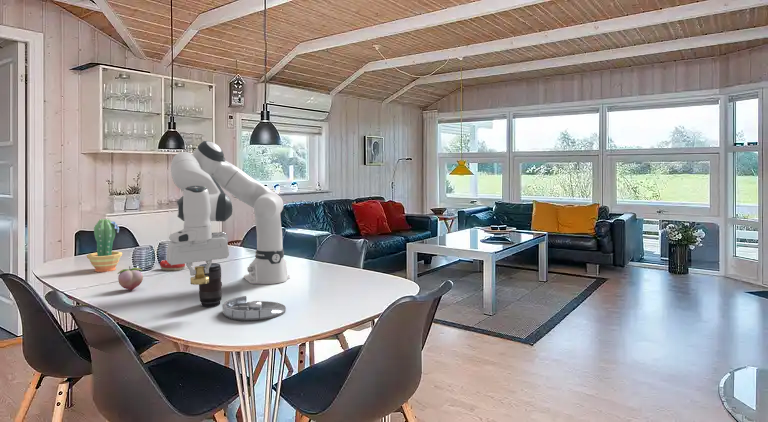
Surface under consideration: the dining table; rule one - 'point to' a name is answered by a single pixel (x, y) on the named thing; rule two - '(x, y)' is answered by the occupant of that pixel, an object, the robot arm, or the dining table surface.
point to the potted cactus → (105, 247)
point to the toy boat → (171, 266)
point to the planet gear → (199, 276)
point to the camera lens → (211, 287)
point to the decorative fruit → (130, 278)
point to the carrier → (251, 309)
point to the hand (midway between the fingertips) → (199, 274)
